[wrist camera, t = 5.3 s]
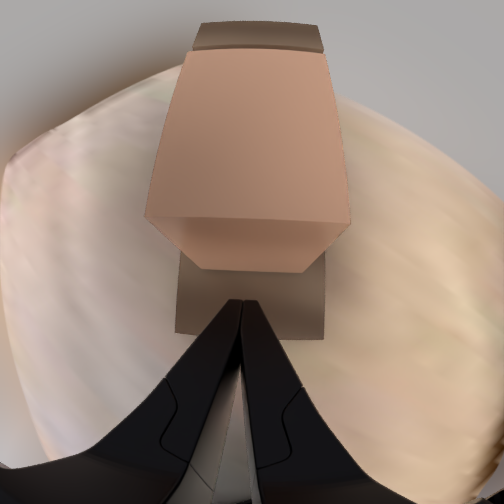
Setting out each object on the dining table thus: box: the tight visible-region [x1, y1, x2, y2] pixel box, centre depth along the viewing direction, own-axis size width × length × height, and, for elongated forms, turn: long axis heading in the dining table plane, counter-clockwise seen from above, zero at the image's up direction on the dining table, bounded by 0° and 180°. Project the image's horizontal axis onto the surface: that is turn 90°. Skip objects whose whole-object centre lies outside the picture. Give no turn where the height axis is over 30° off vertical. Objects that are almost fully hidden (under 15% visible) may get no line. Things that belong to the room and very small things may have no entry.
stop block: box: [175, 21, 325, 340], centre depth 15 cm, size 18×9×9 cm, turn 178°
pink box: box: [144, 49, 351, 273], centre depth 13 cm, size 8×6×9 cm
